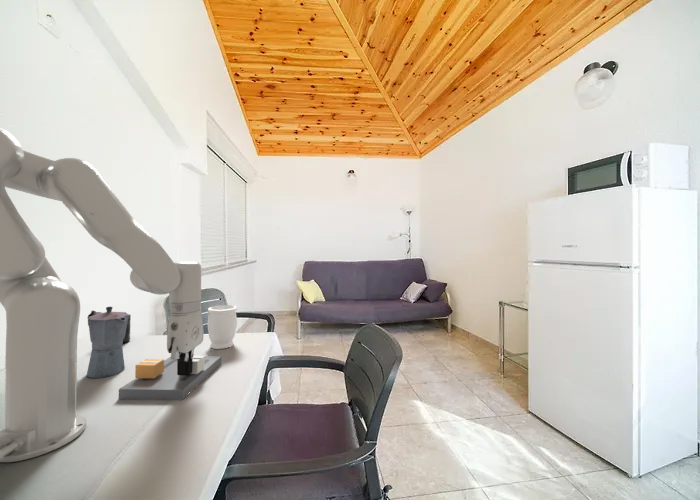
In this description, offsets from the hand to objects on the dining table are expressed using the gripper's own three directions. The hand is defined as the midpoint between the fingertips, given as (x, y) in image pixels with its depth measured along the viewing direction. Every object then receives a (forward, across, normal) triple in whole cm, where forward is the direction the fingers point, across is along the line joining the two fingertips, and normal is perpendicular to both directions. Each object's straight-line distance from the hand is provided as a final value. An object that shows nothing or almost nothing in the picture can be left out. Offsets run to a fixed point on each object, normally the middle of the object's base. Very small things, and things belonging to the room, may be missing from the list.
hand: (184, 374), depth 77 cm
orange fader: (+1, +1, +10) cm, 10 cm away
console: (+4, +5, +5) cm, 8 cm away
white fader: (+1, +4, 0) cm, 4 cm away
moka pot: (+4, +9, +29) cm, 31 cm away
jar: (+4, +33, +5) cm, 34 cm away
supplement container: (+4, +35, +46) cm, 57 cm away
